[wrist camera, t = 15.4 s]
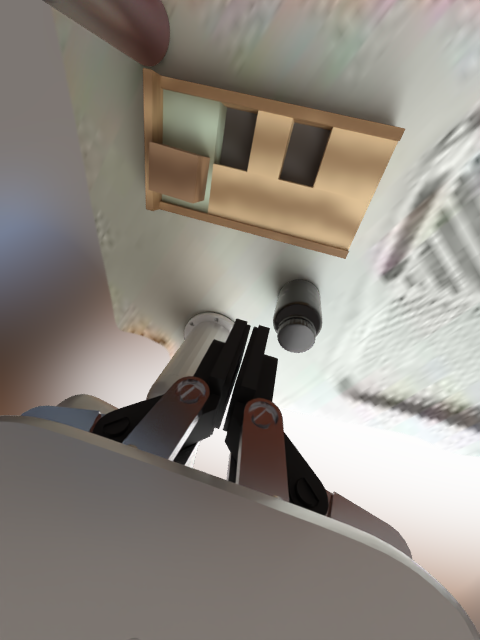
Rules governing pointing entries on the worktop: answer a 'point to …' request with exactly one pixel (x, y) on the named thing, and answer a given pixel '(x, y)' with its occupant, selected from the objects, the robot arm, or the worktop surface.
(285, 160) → the trap trough
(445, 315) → the worktop surface
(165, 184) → the walnut block
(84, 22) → the beverage can
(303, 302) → the supplement bottle
